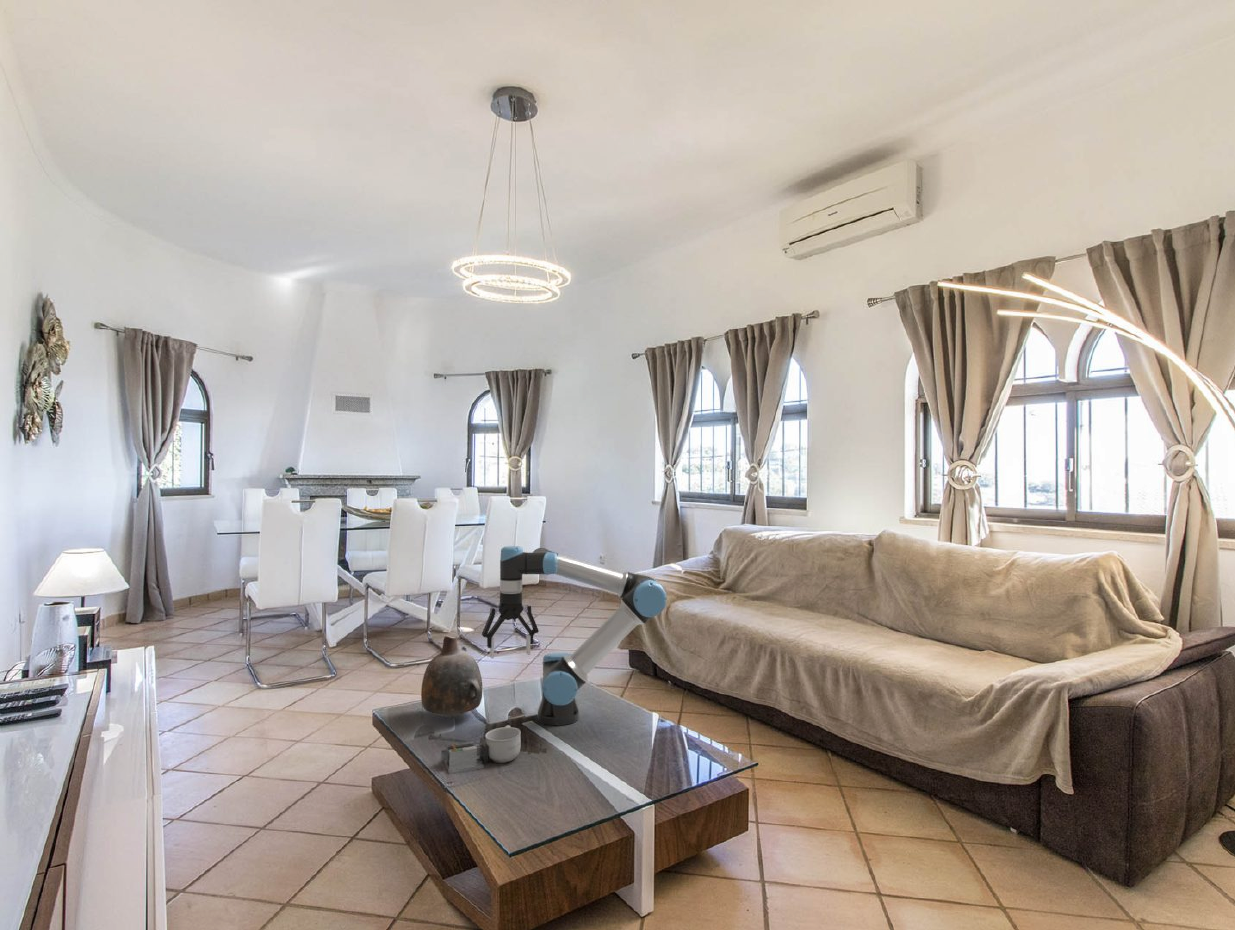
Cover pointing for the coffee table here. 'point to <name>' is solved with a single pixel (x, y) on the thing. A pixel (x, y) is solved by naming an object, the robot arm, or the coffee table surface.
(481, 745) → the hammer
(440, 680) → the jug
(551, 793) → the coffee table surface
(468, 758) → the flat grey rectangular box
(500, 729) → the teacup
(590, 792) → the coffee table surface
